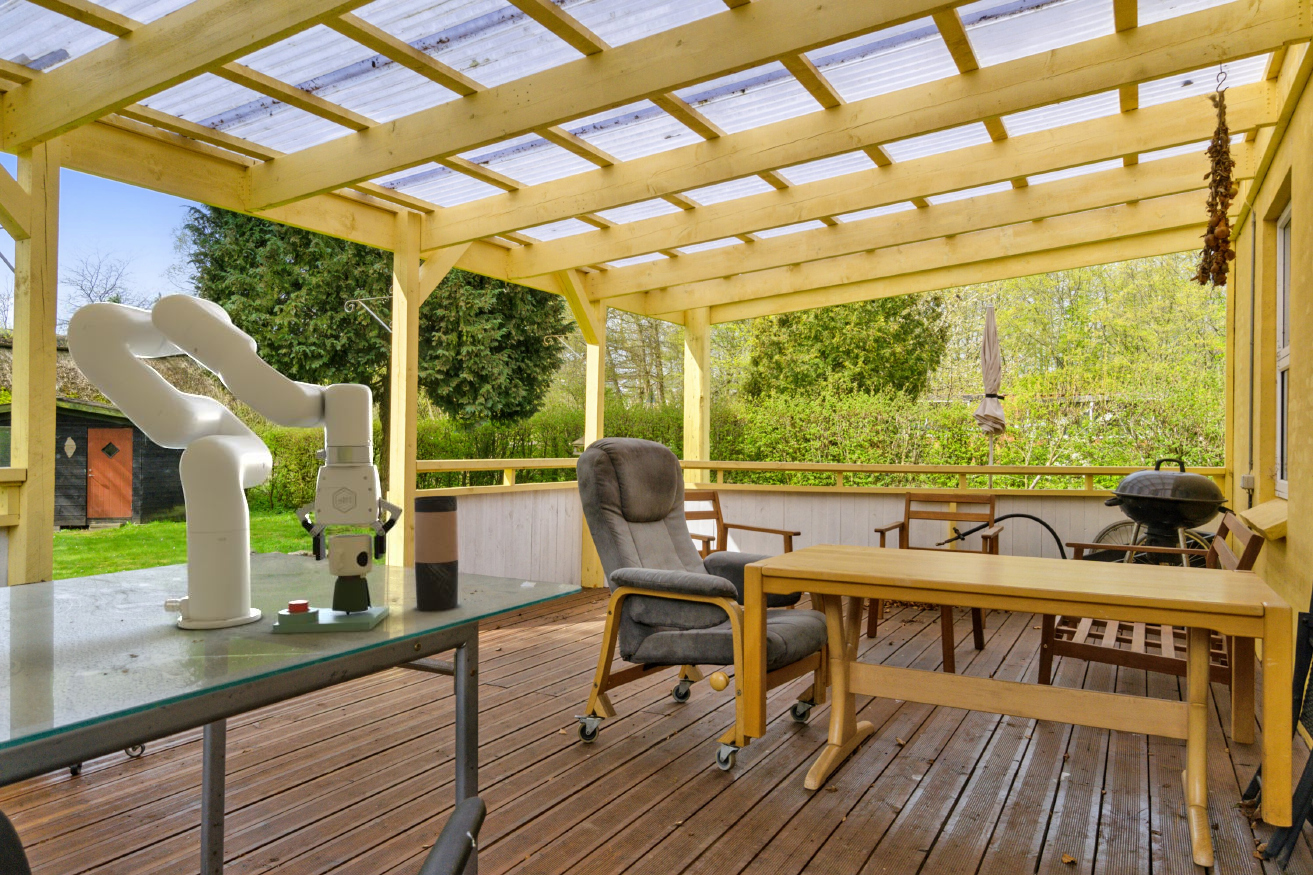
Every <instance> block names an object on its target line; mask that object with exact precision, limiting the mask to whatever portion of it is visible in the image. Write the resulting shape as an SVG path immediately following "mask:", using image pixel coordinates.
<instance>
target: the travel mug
mask: <svg viewBox="0 0 1313 875" xmlns="http://www.w3.org/2000/svg"><path fill="white" fill-rule="evenodd" d="M413 501H414V502H413V504H414V505H413V506H414V507H413V508H414V512H413V514H414V572H415V573H414V576H415V579H414V580H415V600H416V609H417V610H418V611H421V612H442V611H450V610H454V609H456V608H458V602H459V601H458V600H459V530H458V529H459V528H458V527H459V526H458V525H459V524H458V497H457V496H456V495H428V496H415V497H414V498H413Z"/></svg>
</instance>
